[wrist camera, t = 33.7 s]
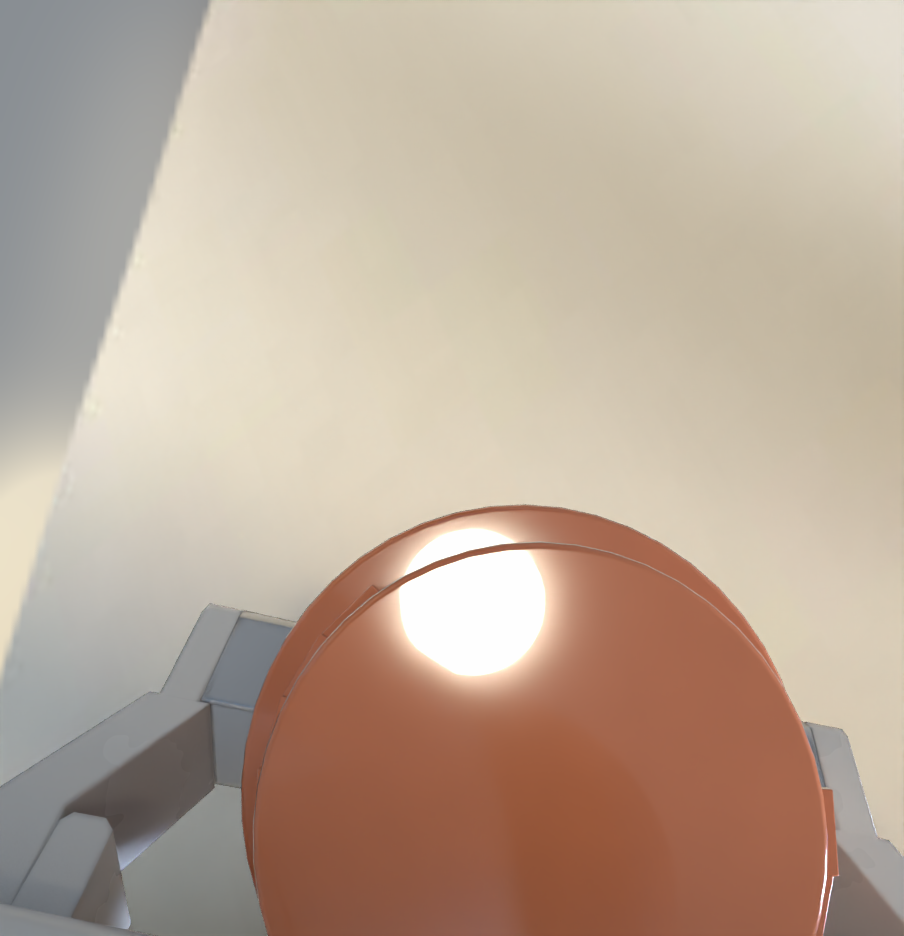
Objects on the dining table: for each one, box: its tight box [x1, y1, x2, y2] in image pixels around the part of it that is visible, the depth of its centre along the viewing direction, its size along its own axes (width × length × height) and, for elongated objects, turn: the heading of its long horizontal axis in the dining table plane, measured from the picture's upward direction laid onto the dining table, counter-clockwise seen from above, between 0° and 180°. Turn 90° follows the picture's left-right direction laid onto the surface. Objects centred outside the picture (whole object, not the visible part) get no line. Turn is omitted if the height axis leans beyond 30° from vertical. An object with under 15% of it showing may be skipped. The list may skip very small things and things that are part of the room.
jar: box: [241, 504, 839, 936], centre depth 12 cm, size 6×6×11 cm
